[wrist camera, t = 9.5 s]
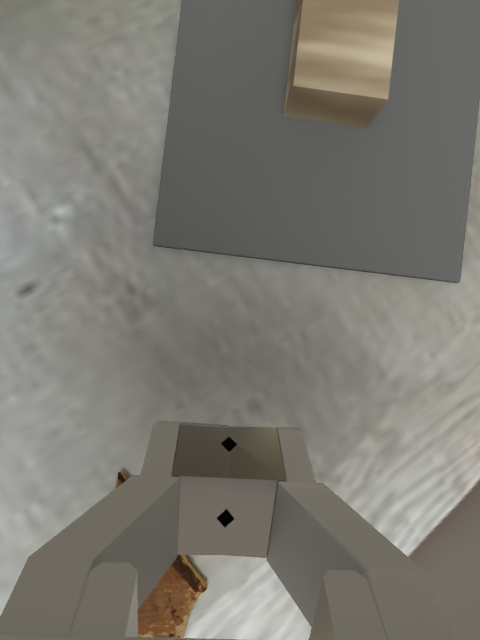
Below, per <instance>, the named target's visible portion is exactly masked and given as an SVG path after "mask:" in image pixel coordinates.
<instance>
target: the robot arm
mask: <svg viewBox="0 0 480 640" xmlns="http://www.w3.org/2000/svg"><path fill="white" fill-rule="evenodd" d="M177 555H231V556H247V557H262V558H267V561H268V563H269V564H270V566H271V567H272V569H273V570H274V572H275V573H276V575H277V576H278V577H279V579H280V580H281V582H282V583H283V585H284V586H285V588H286V589H287V591H288V592H289V594H290V595H291V597H292V598H293V600H294V601H295V603H296V604H297V606H298V607H299V609H300V610H301V612H302V613H303V615H304V616H305V618H306V619H307V621H308V622H309V624H310V625H311V627H312V629H311V634H310V638H309V640H455V639H454V636H453V634H452V632H451V630H450V627H449V625H448V623H447V621H446V619H445V616H444V614H443V612H442V610H441V608H440V605H439V603H438V601H437V599H436V596H435V594H434V592H433V590H432V588H431V585H430V583H429V581H428V579H427V577H426V574H425V572H424V571H423V570H422V569H421V568H420V567H419V566H417V565H416V564H415V563H414V562H413V561H412V560H410V559H409V558H408V557H407V556H406V555H405V554H404V553H403V552H401V551H400V550H399V549H398V548H397V547H396V546H394V545H393V544H392V543H391V542H390V541H389V540H388V539H386V538H385V537H384V536H383V535H382V534H381V533H380V532H378V531H377V530H376V529H375V528H374V527H373V526H372V525H370V524H369V523H368V522H367V521H366V520H365V519H364V518H362V517H361V516H360V515H359V514H358V513H357V512H355V511H354V510H353V509H352V508H351V507H350V506H349V505H347V504H346V503H345V502H344V501H343V500H342V499H341V498H339V497H338V496H337V495H336V494H335V493H334V492H333V491H331V490H330V489H329V488H328V487H327V486H326V485H325V484H323V483H316V481H315V477H314V473H313V470H312V466H311V462H310V458H309V454H308V451H307V447H306V443H305V439H304V435H303V432H302V430H301V429H300V428H285V427H276V428H264V427H240V426H229V425H215V424H201V423H188V422H181V423H180V422H172V421H156V422H155V423H154V425H153V429H152V432H151V436H150V440H149V444H148V448H147V452H146V456H145V460H144V464H143V468H142V472H141V475H132V476H131V477H130V478H129V479H127V480H126V481H125V482H124V483H122V484H121V485H120V486H118V487H117V488H116V489H115V490H113V491H112V492H111V493H110V494H108V495H107V496H106V497H104V498H103V499H102V500H101V501H99V502H98V503H97V504H96V505H94V506H93V507H92V508H90V509H89V510H88V511H87V512H85V513H84V514H83V515H82V516H80V517H79V518H78V519H76V520H75V521H74V522H73V523H71V524H70V525H69V526H68V527H66V528H65V529H64V530H62V531H61V532H60V533H59V534H57V535H56V536H55V537H54V538H52V539H51V540H50V541H48V542H47V543H46V544H45V545H43V546H42V547H41V548H40V549H38V550H37V551H36V552H34V553H33V554H32V555H31V556H29V557H28V560H27V562H26V564H25V566H24V568H23V570H22V572H21V574H20V576H19V579H18V581H17V583H16V585H15V587H14V589H13V591H12V593H11V595H10V598H9V600H8V602H7V604H6V606H5V608H4V610H3V612H2V614H1V617H0V640H236V639H194V638H153V637H138V609H139V607H140V606H141V605H142V603H143V602H144V601H145V599H146V598H147V597H148V595H149V594H150V593H151V591H152V590H153V589H154V587H155V586H156V585H157V583H158V582H159V581H160V579H161V578H162V577H163V575H164V574H165V573H166V571H167V570H168V569H169V567H170V566H171V565H172V563H173V562H174V561H175V559H176V558H177Z"/></svg>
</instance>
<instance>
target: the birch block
mask: <svg viewBox="0 0 480 640" xmlns="http://www.w3.org/2000/svg"><path fill="white" fill-rule="evenodd" d="M398 6H399V0H297V3H296V12H295V21H294V29H293V38H292V47H291V56H290V64H289V73H288V82H287V91H286V99H285V108H284V116H286V117H294V118H301V119H308V120H315V121H322V122H330V123H337V124H344V125H351V126H358V127H366V128H367V127H368V125H369V124H370V123H371V121H372V120H373V119H374V117H375V116H376V115H377V113H378V112H379V111H380V109H381V108H382V107H383V105H384V104H385V103H386V101H387V100H388V96H389V87H390V78H391V69H392V60H393V51H394V42H395V33H396V24H397V15H398Z"/></svg>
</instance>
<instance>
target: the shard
mask: <svg viewBox="0 0 480 640" xmlns="http://www.w3.org/2000/svg"><path fill="white" fill-rule="evenodd" d="M126 480H127V478H126V477H125V476H124V475H123V474H122V473H121V472H118V478H117V481H116V488H117V487H118V486H120V485H121V484H122V483H124V482H125V481H126ZM116 488H115V489H116ZM206 589H207V583H206V582H205V580H204V579H203V577H202V576H201V575H200V574H199V573H198V572H197V571H196V570H195V569H194V567H193V566H192V565H191V564H190V562H189V561H188V559H187V557H186V555H177V558H176V559H175V561H174V562H173V563H172V565H171V566H170V567H169V569H168V570H167V571H166V573H165V574H164V575H163V577H162V578H161V579H160V581H159V582H158V583H157V585H156V586H155V587H154V589H153V590H152V591H151V593H150V594H149V595H148V597H147V598H146V599H145V601H144V602H143V603H142V605H141V606H140V607H139V609H138V637H153V638H184V631H185V629H186V625H187V622H188V618H189V616H190V613H191V611H192V609H193V607H194V605H195V603H196V601H197V599H198V597H199V595H201V594H202V593H203V592H204V591H205V590H206Z"/></svg>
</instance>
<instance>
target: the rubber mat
mask: <svg viewBox="0 0 480 640" xmlns="http://www.w3.org/2000/svg"><path fill="white" fill-rule="evenodd" d="M296 3H297V0H182V5H181V14H180V22H179V31H178V39H177V48H176V56H175V65H174V73H173V81H172V90H171V98H170V107H169V115H168V124H167V132H166V141H165V149H164V158H163V166H162V175H161V183H160V192H159V200H158V208H157V217H156V225H155V234H154V242H153V245H154V246H160V247H168V248H177V249H185V250H193V251H201V252H209V253H217V254H226V255H234V256H242V257H250V258H258V259H266V260H274V261H283V262H291V263H299V264H307V265H315V266H323V267H332V268H340V269H348V270H356V271H364V272H372V273H380V274H389V275H397V276H405V277H413V278H421V279H429V280H438V281H446V282H454V283H458V282H460V277H461V268H462V259H463V249H464V240H465V231H466V221H467V212H468V203H469V193H470V184H471V175H472V165H473V156H474V147H475V138H476V128H477V119H478V110H479V100H480V0H399V6H398V15H397V24H396V33H395V42H394V51H393V60H392V69H391V78H390V87H389V96H388V100H387V101H386V103H385V104H384V105H383V107H382V108H381V109H380V111H379V112H378V113H377V115H376V116H375V117H374V119H373V120H372V121H371V123H370V124H369V125H368V127H367V128H366V127H358V126H351V125H344V124H337V123H330V122H322V121H315V120H308V119H301V118H294V117H286V116H284V108H285V99H286V91H287V82H288V73H289V64H290V56H291V47H292V38H293V29H294V21H295V12H296Z"/></svg>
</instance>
